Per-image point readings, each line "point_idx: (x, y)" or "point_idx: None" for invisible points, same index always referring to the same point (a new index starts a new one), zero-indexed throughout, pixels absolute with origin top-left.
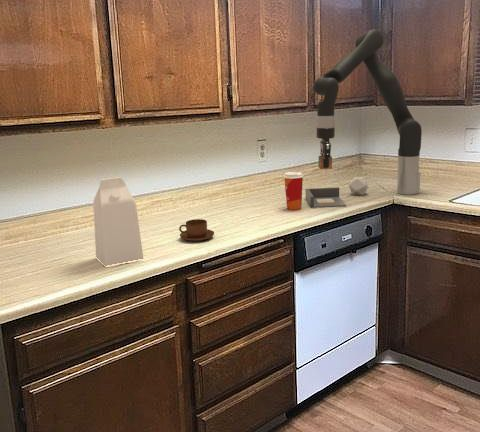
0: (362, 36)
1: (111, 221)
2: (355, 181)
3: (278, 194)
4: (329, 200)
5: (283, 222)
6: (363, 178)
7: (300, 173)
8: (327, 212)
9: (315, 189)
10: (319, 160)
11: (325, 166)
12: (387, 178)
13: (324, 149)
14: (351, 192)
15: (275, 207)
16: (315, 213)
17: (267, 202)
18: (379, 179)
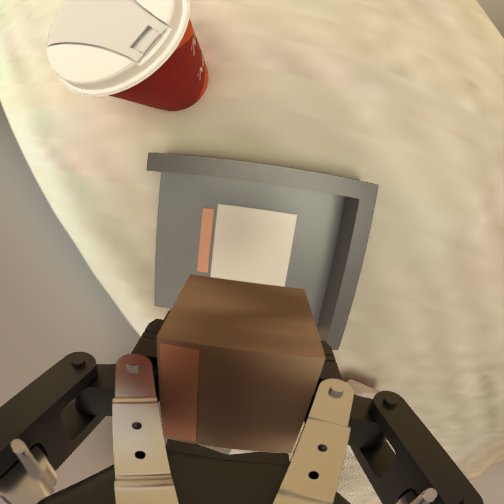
0: None
1: None
2: None
3: (469, 104)
4: (248, 266)
5: (21, 49)
6: (347, 450)
7: (72, 68)
8: (79, 204)
9: (351, 234)
10: (233, 320)
11: (156, 324)
12: (459, 460)
13: (25, 420)
14: (352, 381)
15: (225, 14)
16: (75, 156)
17: (335, 7)
18: (465, 449)
